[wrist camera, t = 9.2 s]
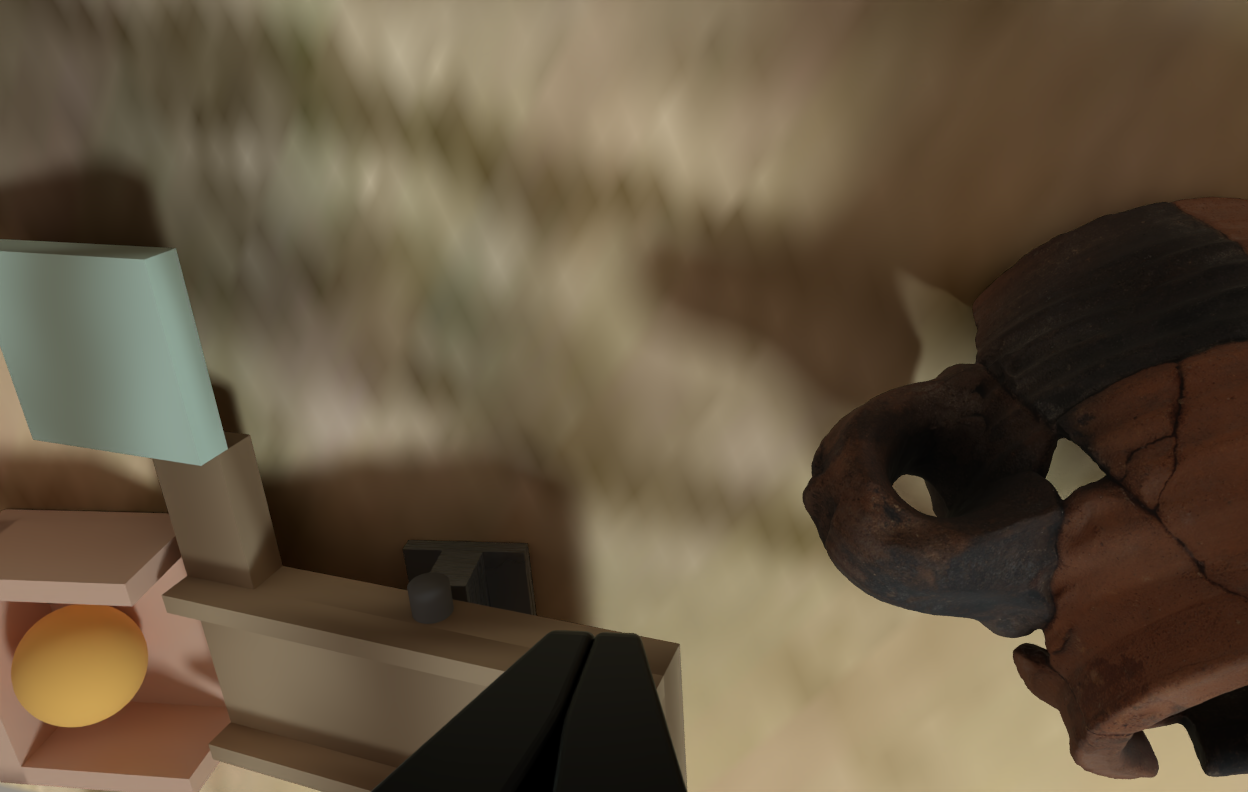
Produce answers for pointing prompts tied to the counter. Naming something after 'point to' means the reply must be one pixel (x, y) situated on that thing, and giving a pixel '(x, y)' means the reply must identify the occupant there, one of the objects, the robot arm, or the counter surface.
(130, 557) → the dish
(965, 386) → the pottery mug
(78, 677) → the ball
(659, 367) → the counter surface
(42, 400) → the lever
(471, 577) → the fulcrum
